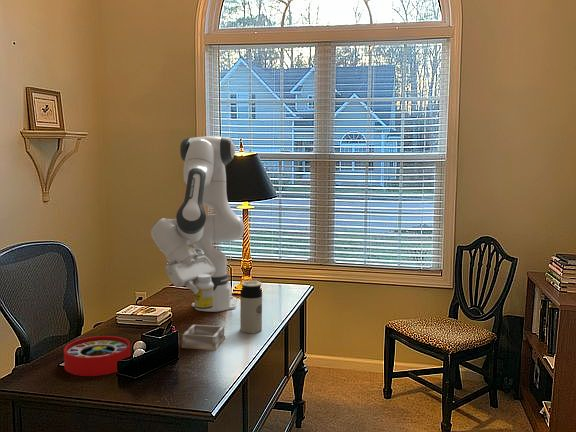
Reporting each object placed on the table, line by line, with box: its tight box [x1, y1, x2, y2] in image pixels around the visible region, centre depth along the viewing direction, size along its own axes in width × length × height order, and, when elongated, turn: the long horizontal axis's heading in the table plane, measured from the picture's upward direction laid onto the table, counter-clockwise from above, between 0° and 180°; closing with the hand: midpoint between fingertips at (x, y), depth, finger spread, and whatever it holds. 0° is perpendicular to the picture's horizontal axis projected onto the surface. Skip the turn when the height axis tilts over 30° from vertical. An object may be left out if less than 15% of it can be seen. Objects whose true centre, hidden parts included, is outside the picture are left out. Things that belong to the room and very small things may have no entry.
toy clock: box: [63, 335, 132, 377], centre depth 188 cm, size 20×6×20 cm
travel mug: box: [239, 280, 263, 334], centre depth 222 cm, size 8×8×18 cm
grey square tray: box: [181, 324, 226, 351], centre depth 208 cm, size 12×12×4 cm
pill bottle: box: [193, 274, 213, 312], centre depth 206 cm, size 6×6×12 cm
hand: (205, 290), depth 206 cm, fingers closed on pill bottle, 6 cm apart
